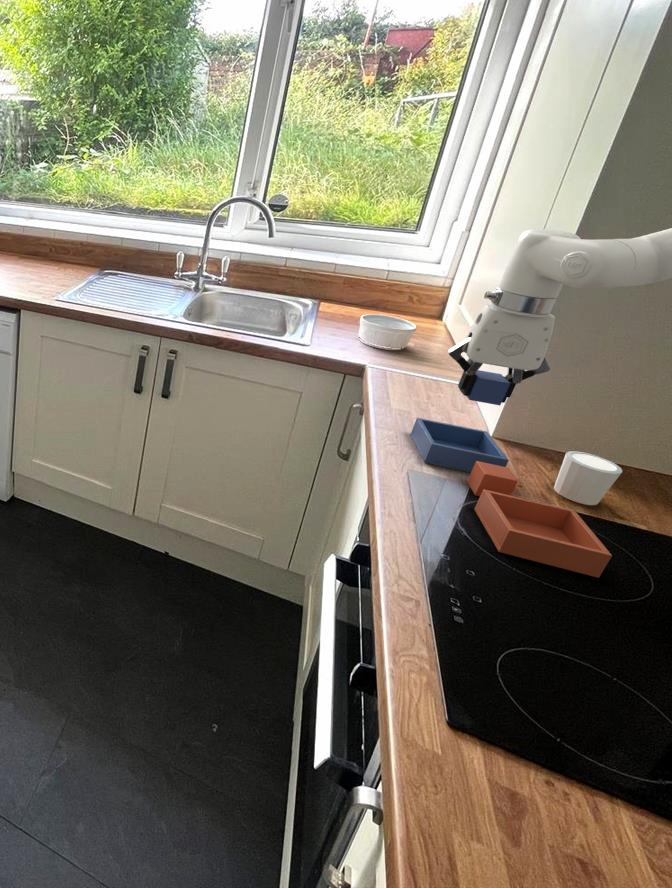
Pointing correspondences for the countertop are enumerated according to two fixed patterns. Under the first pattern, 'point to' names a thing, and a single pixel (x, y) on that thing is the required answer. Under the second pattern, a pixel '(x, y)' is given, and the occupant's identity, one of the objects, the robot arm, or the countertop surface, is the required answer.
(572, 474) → the white cylinder
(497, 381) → the blue block
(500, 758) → the countertop surface
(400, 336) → the ramekin
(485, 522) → the terracotta bin
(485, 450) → the blue bin
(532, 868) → the countertop surface
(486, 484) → the terracotta block
